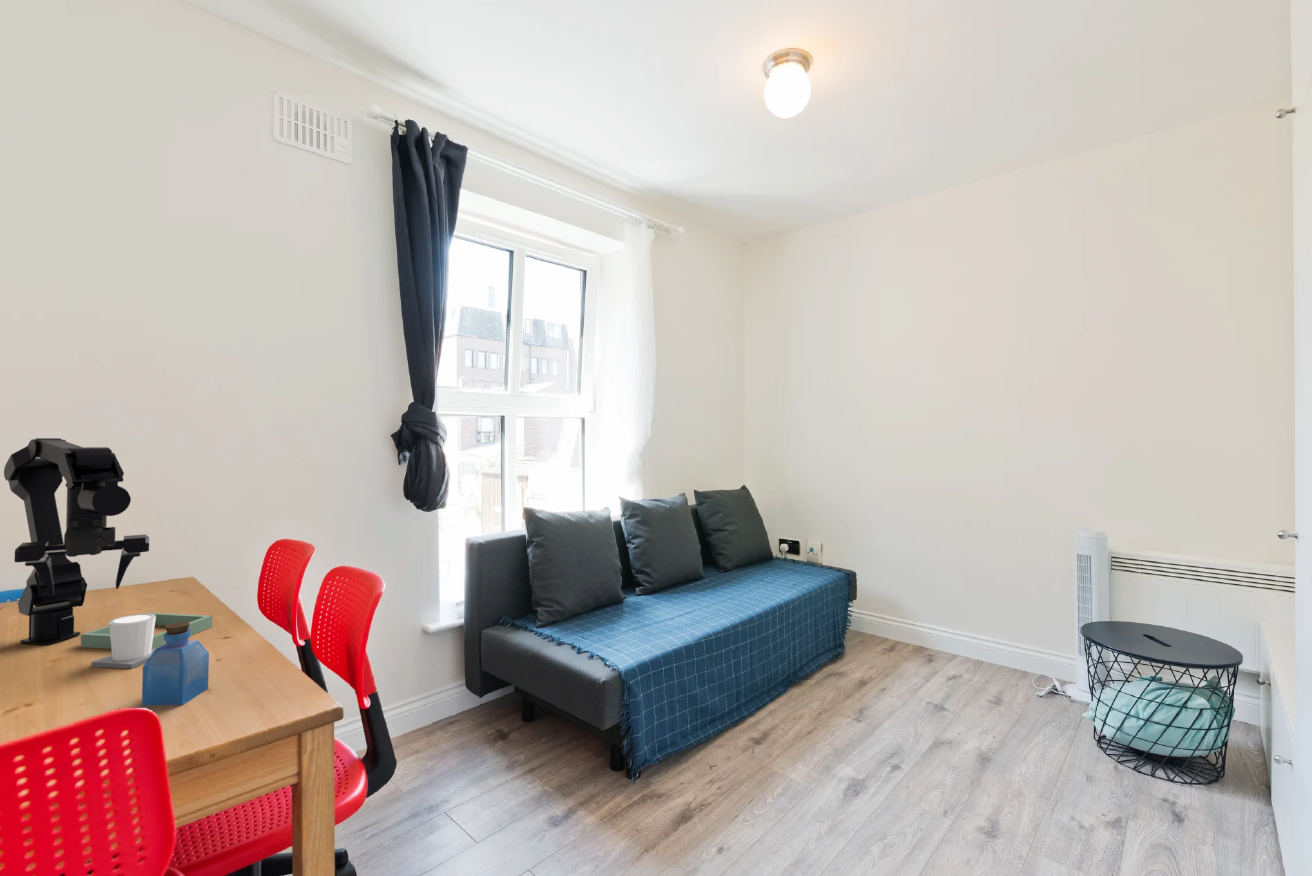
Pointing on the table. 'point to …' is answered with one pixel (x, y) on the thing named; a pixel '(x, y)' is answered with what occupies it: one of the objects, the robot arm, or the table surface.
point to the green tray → (197, 624)
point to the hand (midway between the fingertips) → (85, 591)
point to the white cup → (132, 636)
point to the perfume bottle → (175, 669)
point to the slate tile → (121, 662)
